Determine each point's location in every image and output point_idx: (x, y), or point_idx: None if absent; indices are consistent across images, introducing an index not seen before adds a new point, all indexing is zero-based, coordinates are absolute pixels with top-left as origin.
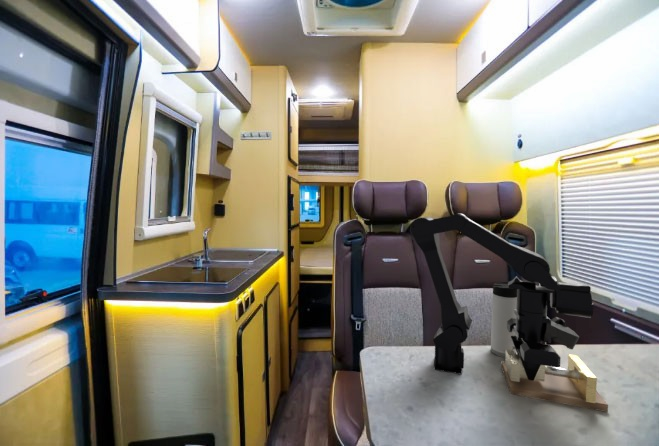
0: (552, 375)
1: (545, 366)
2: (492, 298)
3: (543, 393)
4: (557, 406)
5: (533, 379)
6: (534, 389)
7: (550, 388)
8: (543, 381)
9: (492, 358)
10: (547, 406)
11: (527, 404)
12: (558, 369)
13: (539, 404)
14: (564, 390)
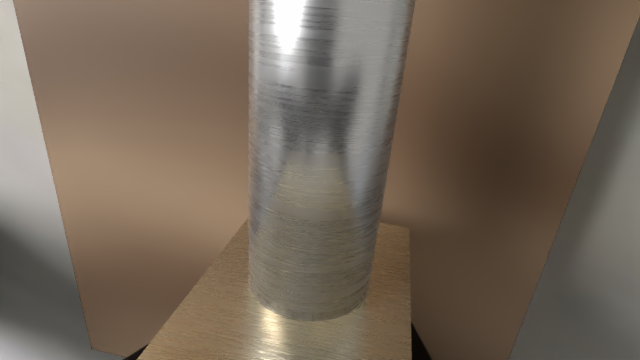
0: (159, 26)
1: (310, 293)
2: None
3: (542, 262)
4: (621, 157)
5: (414, 331)
6: (489, 312)
7: (445, 164)
8: (406, 234)
9: (38, 323)
10: (622, 238)
11: (596, 357)
12: (358, 109)
13: (593, 282)
14: (470, 27)
